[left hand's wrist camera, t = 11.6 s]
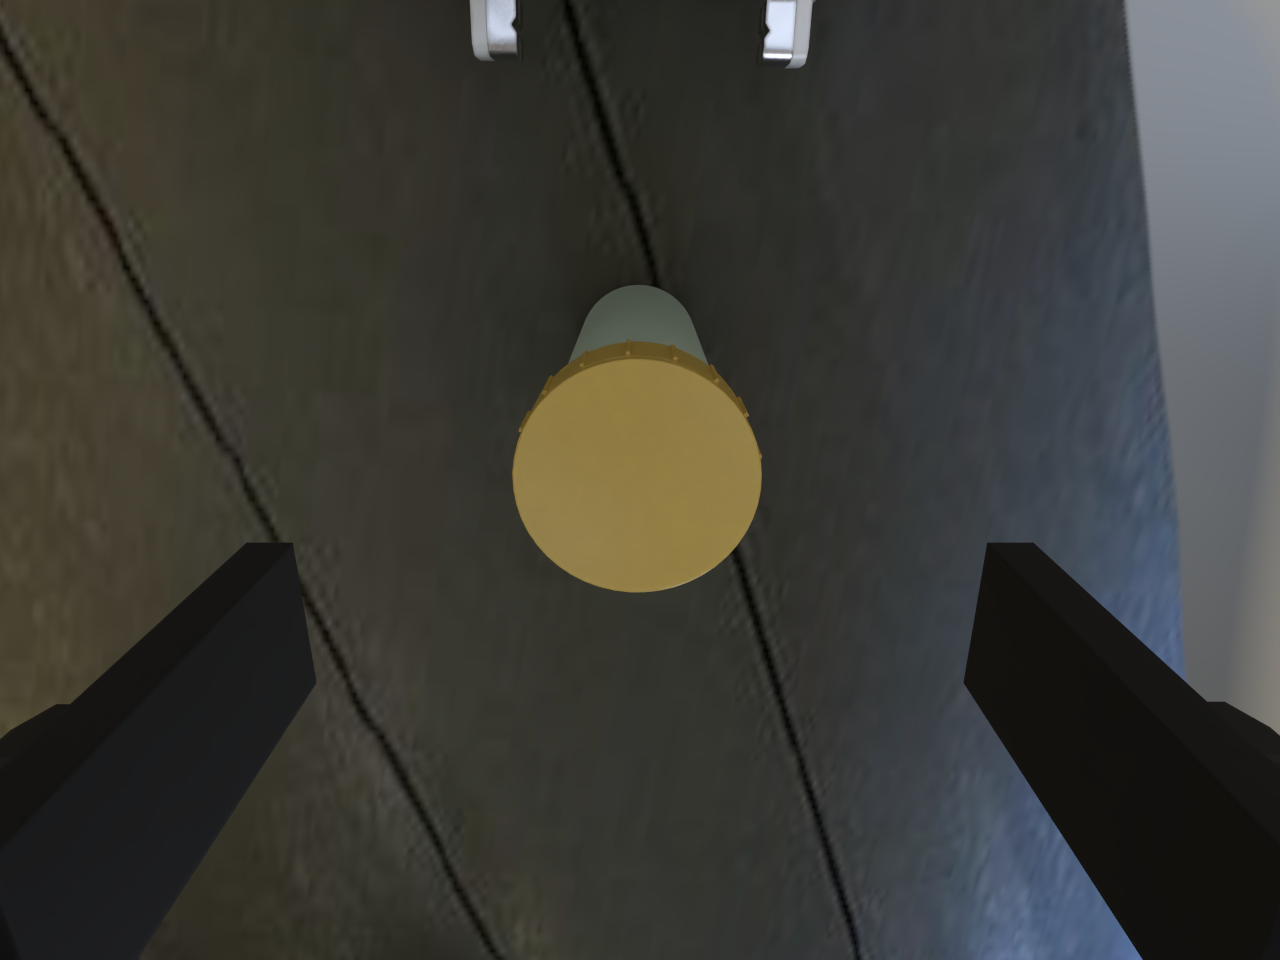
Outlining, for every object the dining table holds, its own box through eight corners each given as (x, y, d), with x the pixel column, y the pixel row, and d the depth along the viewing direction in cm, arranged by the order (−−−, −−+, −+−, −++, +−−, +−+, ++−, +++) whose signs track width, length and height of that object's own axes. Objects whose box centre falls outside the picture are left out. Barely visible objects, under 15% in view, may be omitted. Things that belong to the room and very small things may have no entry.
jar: (632, 421, 37) (627, 606, 21) (557, 337, 36) (488, 466, 20) (719, 348, 36) (784, 485, 20) (644, 259, 35) (647, 327, 18)
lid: (626, 597, 23) (625, 638, 21) (473, 443, 21) (455, 470, 19) (798, 465, 21) (815, 494, 19) (647, 288, 20) (648, 300, 18)
